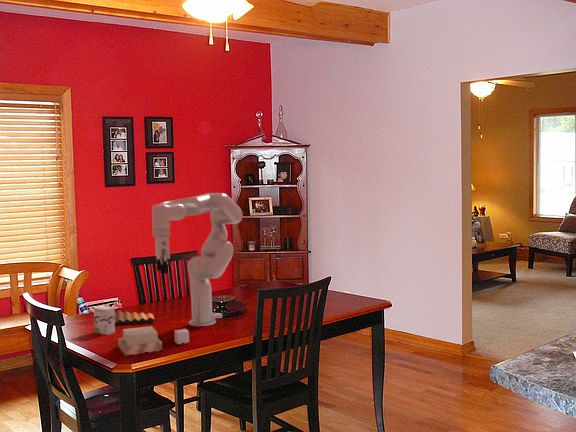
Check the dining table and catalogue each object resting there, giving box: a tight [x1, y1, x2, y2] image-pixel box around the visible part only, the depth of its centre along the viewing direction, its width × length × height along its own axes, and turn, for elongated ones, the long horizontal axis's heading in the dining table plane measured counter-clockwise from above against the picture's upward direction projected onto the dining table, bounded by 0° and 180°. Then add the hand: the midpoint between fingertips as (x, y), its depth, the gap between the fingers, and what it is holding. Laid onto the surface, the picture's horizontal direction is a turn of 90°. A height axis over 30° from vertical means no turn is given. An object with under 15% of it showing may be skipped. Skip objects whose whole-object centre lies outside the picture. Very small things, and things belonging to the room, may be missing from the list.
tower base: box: [117, 337, 163, 357], centre depth 285 cm, size 15×15×4 cm
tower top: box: [122, 325, 159, 346], centre depth 285 cm, size 12×12×4 cm
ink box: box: [93, 305, 116, 336], centre depth 313 cm, size 9×5×12 cm, turn 60°
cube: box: [174, 328, 190, 345], centre depth 293 cm, size 5×5×5 cm
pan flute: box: [114, 310, 155, 327], centre depth 339 cm, size 25×3×25 cm
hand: (162, 272), depth 301 cm, fingers open, 9 cm apart
